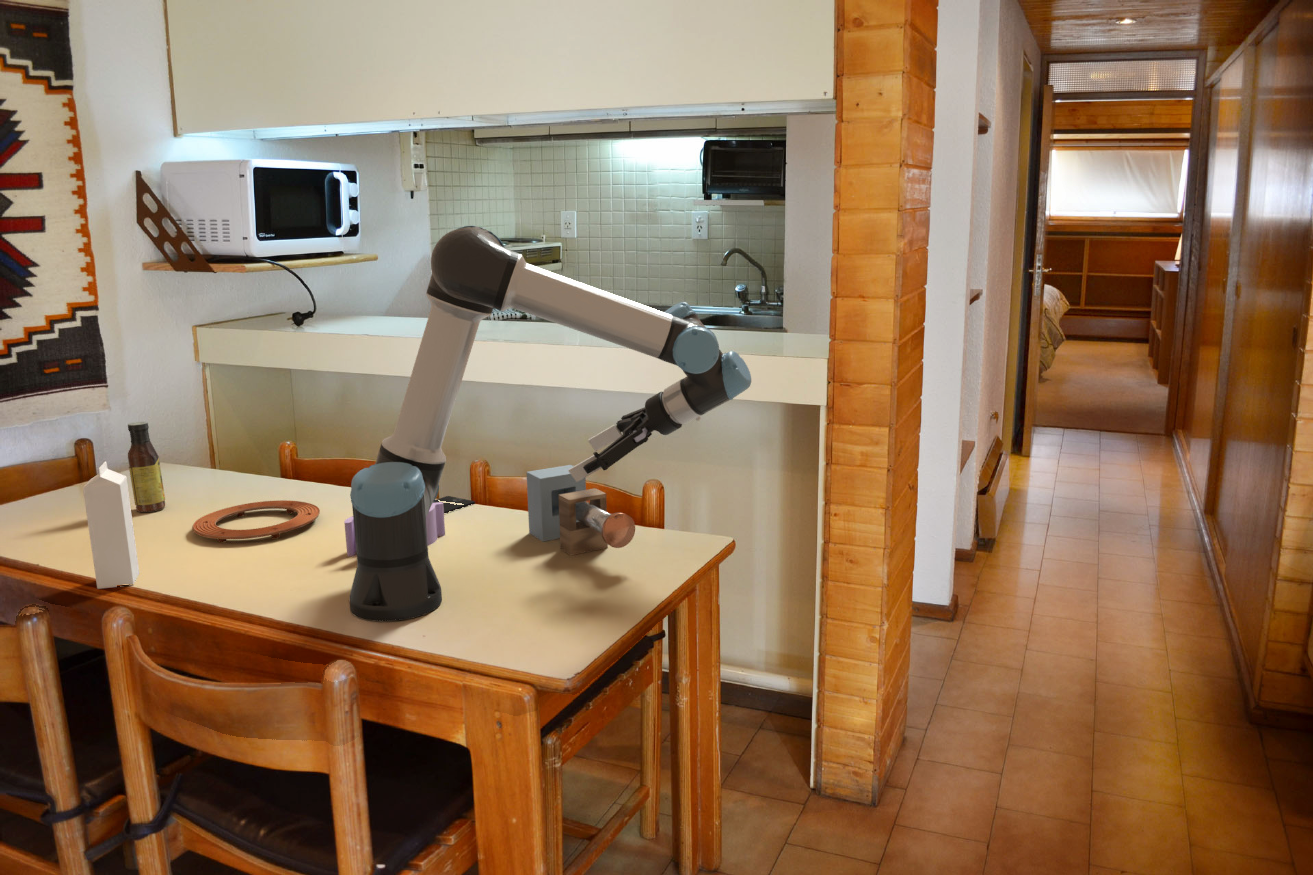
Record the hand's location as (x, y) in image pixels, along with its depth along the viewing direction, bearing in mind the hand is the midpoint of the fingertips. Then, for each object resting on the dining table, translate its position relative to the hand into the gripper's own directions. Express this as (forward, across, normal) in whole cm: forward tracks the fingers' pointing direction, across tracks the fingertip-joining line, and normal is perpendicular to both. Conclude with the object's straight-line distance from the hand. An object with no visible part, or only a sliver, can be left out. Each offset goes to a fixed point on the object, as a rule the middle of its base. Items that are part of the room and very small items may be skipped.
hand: (582, 460), depth 198 cm
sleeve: (+10, -2, -15) cm, 18 cm away
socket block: (+18, +6, -12) cm, 22 cm away
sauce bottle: (+100, +7, +38) cm, 107 cm away
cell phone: (+47, +16, +3) cm, 49 cm away
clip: (+42, -6, +5) cm, 43 cm away
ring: (+72, 0, +22) cm, 76 cm away
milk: (+74, -34, +31) cm, 87 cm away
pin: (+4, -6, -13) cm, 14 cm away
